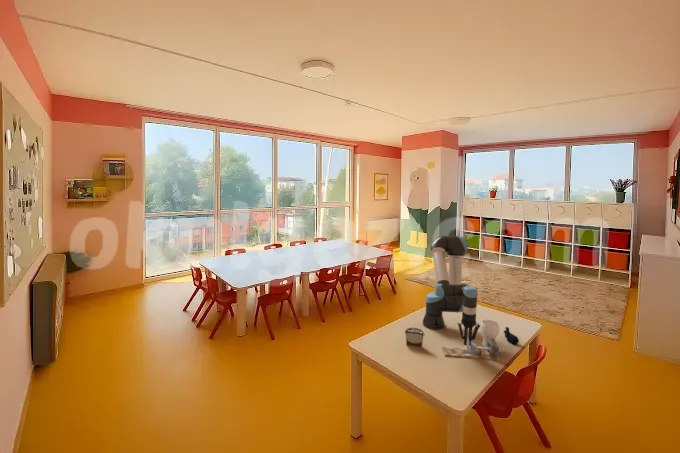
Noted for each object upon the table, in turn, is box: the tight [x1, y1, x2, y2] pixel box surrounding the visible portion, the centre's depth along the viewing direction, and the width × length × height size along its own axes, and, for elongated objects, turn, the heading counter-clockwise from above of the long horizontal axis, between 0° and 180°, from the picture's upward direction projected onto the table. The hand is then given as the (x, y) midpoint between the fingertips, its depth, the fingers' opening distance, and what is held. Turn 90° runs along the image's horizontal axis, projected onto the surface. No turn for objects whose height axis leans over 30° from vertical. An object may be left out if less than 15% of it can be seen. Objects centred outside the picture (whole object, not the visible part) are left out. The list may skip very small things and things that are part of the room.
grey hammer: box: [469, 341, 506, 356], centre depth 190 cm, size 19×7×5 cm, turn 82°
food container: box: [404, 327, 426, 349], centre depth 204 cm, size 12×6×10 cm, turn 71°
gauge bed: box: [441, 339, 500, 360], centre depth 192 cm, size 30×9×8 cm, turn 82°
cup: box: [480, 319, 500, 347], centre depth 201 cm, size 11×11×15 cm
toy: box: [503, 326, 520, 346], centre depth 209 cm, size 15×5×7 cm, turn 177°
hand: (466, 349), depth 193 cm, fingers closed
